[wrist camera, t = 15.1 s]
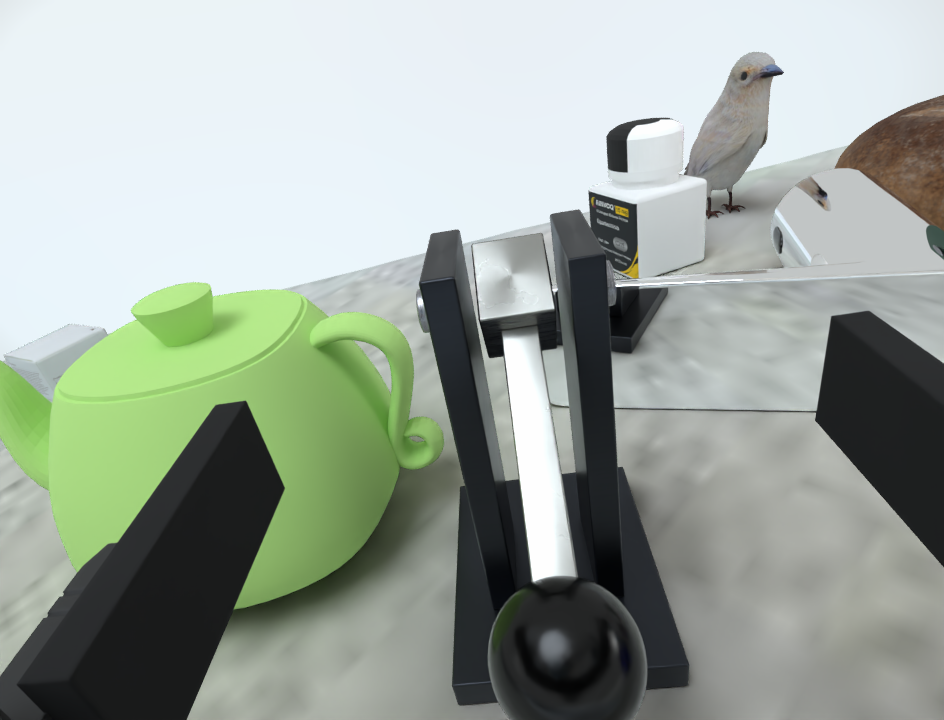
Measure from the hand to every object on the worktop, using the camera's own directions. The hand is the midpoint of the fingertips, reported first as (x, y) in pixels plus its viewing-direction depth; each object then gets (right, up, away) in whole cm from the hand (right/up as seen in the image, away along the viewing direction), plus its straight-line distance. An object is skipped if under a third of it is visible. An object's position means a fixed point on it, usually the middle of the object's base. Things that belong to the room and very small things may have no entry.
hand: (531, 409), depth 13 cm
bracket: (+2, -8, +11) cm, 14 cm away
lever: (+1, -2, +4) cm, 4 cm away
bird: (+25, +16, +47) cm, 55 cm away
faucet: (+15, +3, +26) cm, 31 cm away
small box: (-34, -2, +35) cm, 49 cm away
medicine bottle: (+15, +10, +39) cm, 43 cm away
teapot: (-13, -8, +17) cm, 23 cm away
